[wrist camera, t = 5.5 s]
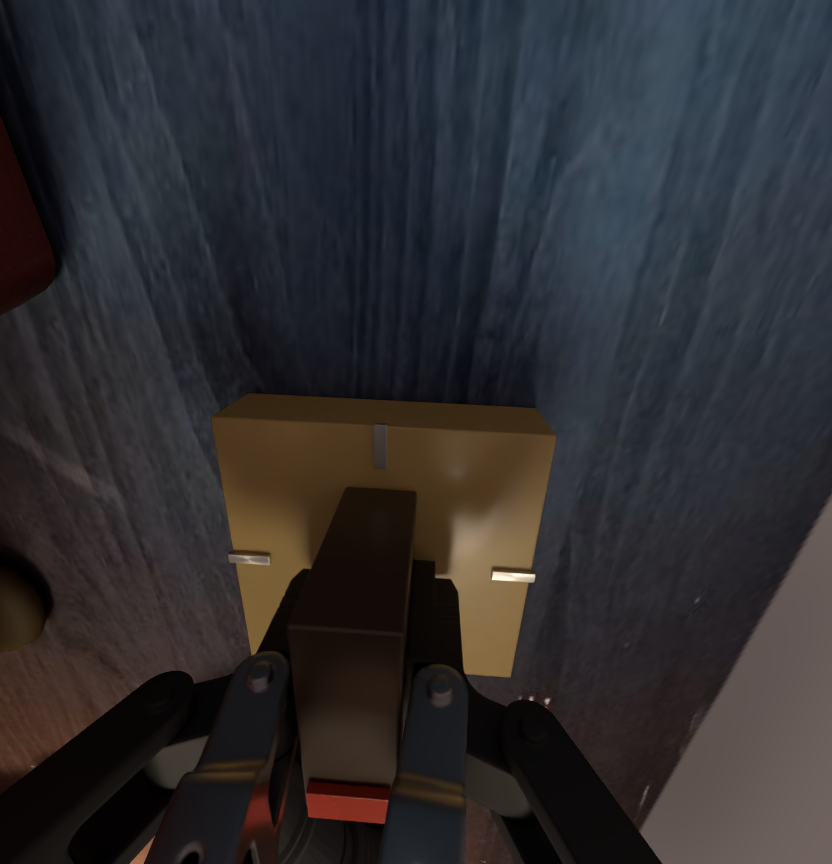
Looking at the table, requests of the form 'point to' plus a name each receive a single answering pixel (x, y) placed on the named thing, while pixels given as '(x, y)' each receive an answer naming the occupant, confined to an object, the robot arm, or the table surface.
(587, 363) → the table surface
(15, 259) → the flower pot
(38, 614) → the kendama
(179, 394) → the table surface
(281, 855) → the flashlight
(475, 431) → the plate
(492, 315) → the table surface
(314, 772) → the thumb turn
